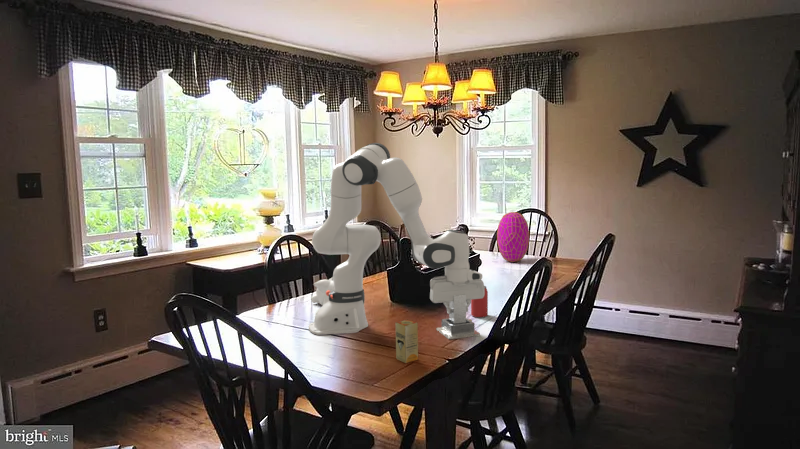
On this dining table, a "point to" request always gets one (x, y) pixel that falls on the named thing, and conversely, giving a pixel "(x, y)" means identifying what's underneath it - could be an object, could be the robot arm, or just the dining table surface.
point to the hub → (458, 329)
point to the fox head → (322, 291)
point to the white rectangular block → (458, 310)
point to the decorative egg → (513, 236)
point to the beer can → (480, 306)
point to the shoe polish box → (407, 341)
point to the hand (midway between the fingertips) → (457, 312)
